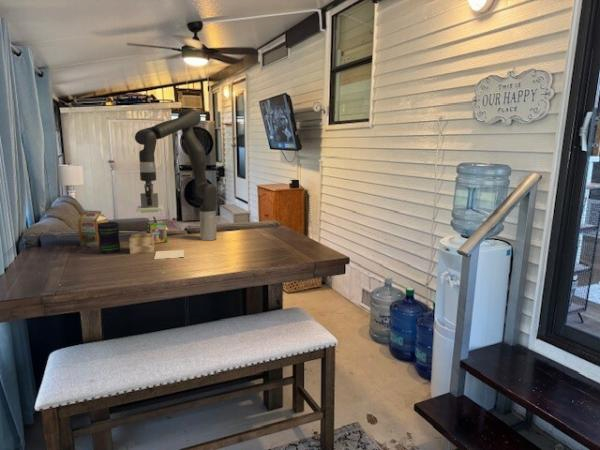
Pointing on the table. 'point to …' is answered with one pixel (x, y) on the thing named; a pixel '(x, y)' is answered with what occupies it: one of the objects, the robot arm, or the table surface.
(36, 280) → the table surface
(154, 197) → the lid
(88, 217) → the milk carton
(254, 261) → the table surface
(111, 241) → the dark blue cylinder
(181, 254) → the mat
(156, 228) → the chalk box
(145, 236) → the box
